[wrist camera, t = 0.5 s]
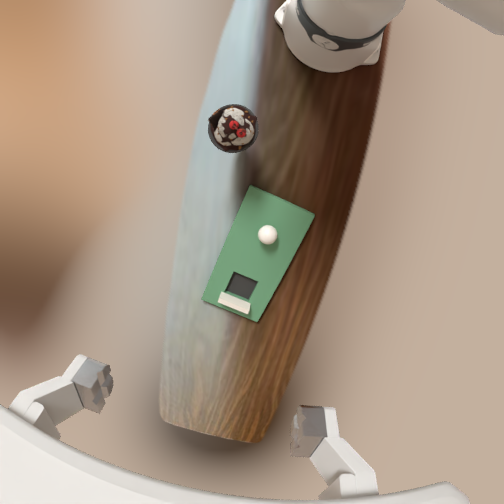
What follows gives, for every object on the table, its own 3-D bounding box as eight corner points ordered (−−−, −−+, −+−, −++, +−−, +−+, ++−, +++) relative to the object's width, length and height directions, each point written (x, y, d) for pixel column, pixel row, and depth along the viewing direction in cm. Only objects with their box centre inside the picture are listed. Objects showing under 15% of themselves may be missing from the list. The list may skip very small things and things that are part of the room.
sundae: (267, 141, 46) (264, 143, 32) (229, 154, 47) (210, 163, 33) (254, 105, 44) (245, 91, 30) (215, 119, 45) (191, 112, 31)
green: (250, 184, 49) (248, 188, 46) (313, 213, 50) (316, 219, 47) (202, 296, 58) (198, 305, 55) (257, 318, 59) (256, 329, 56)
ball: (263, 219, 50) (262, 225, 47) (280, 227, 50) (280, 233, 47) (255, 236, 51) (254, 242, 48) (272, 243, 51) (272, 250, 48)
